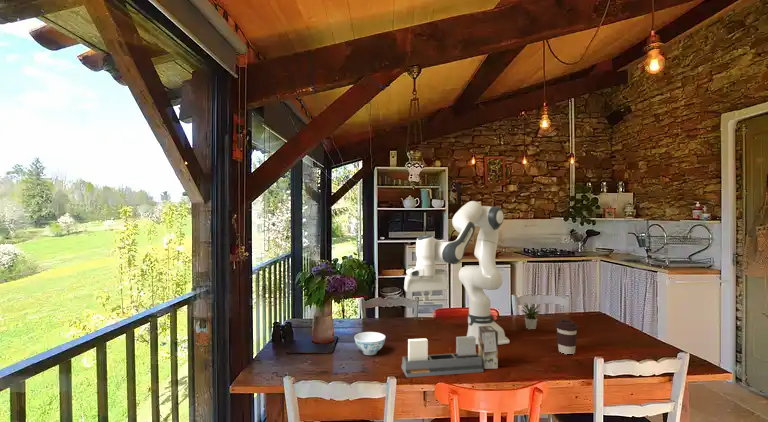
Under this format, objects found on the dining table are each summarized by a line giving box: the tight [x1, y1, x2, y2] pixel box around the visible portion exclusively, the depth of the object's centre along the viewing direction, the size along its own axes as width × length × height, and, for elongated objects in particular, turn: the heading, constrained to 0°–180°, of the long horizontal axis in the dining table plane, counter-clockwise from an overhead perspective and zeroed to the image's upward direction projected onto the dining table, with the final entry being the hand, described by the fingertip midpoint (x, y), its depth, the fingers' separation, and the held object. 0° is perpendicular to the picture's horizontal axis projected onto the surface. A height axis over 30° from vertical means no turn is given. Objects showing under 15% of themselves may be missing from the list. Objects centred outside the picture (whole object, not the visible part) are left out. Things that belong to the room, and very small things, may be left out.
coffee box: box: [477, 326, 499, 370], centre depth 169 cm, size 9×6×16 cm
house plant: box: [521, 301, 542, 330], centre depth 224 cm, size 14×14×16 cm
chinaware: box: [354, 331, 386, 356], centre depth 183 cm, size 15×15×8 cm
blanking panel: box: [407, 338, 429, 361], centre depth 162 cm, size 8×2×12 cm, turn 100°
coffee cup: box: [555, 319, 579, 355], centre depth 185 cm, size 10×10×15 cm
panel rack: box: [400, 335, 484, 378], centre depth 163 cm, size 34×10×14 cm, turn 100°
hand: (426, 300), depth 174 cm, fingers closed
